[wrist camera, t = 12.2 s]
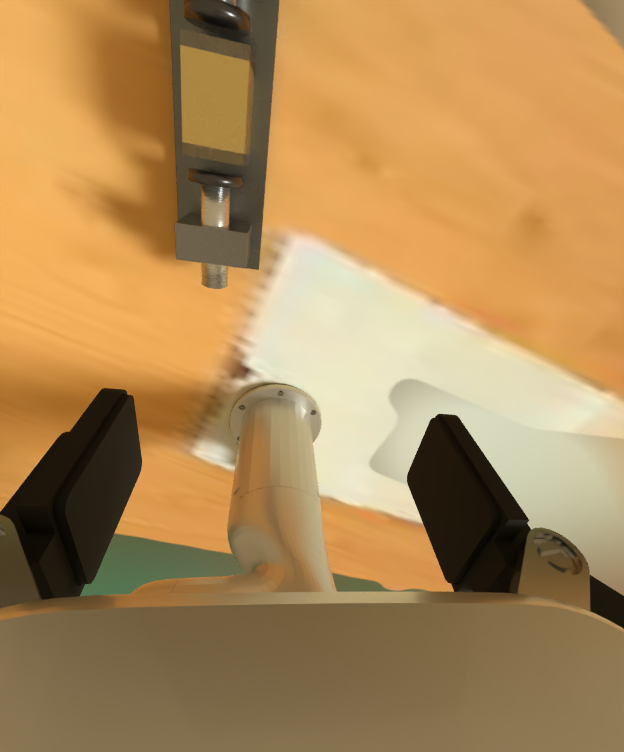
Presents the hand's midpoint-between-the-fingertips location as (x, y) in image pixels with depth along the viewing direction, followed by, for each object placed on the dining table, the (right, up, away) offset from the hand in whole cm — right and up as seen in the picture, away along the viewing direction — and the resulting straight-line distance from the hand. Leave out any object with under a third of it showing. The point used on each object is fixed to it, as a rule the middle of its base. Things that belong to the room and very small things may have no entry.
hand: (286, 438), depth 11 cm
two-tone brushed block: (-7, +24, +19) cm, 31 cm away
